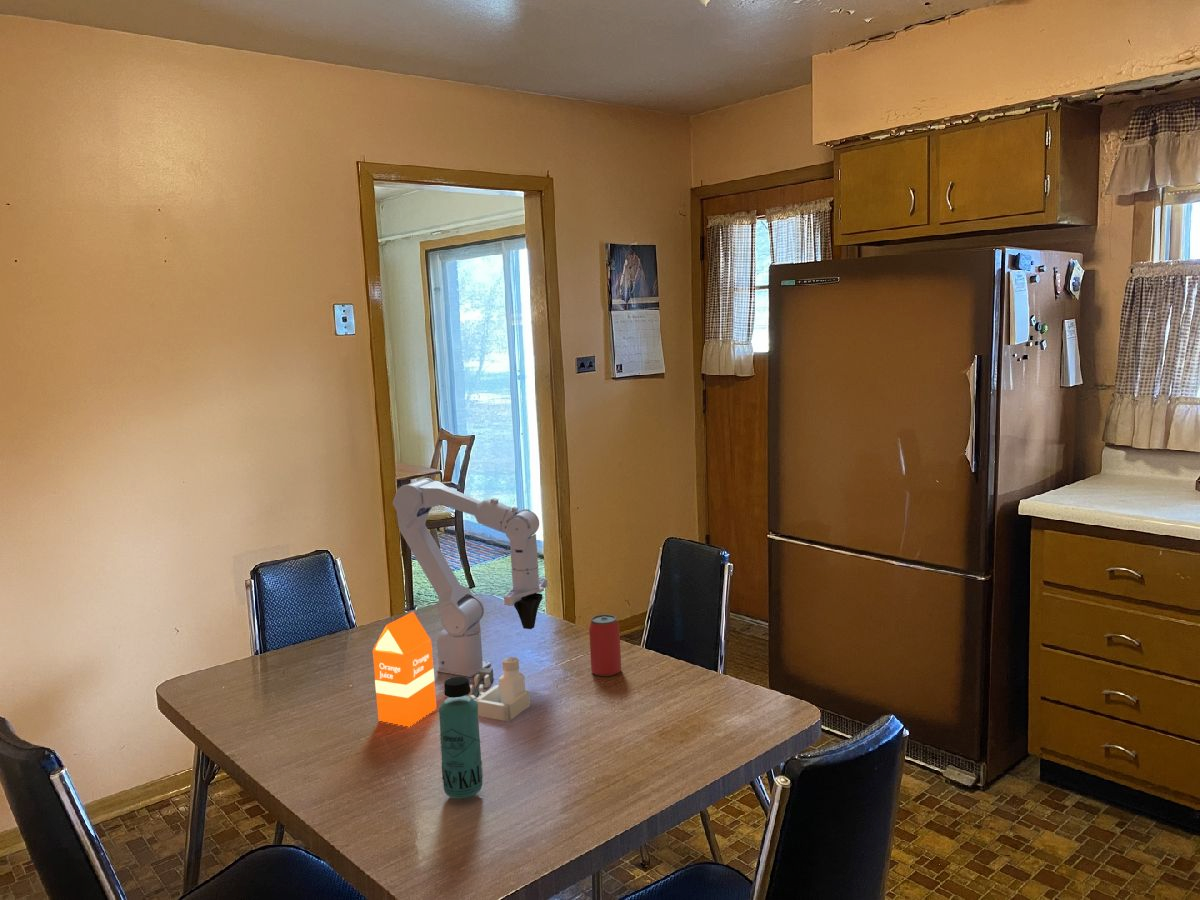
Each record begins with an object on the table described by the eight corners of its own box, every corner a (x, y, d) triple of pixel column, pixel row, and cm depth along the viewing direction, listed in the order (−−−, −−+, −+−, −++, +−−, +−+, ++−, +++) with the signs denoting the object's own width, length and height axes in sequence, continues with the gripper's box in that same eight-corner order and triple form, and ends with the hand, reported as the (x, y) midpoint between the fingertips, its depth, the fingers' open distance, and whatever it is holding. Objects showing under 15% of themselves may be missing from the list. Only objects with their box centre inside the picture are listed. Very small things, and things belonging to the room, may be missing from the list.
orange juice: (437, 708, 176) (429, 613, 173) (410, 727, 168) (402, 627, 165) (405, 703, 179) (397, 609, 176) (377, 721, 171) (369, 623, 168)
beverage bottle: (445, 788, 145) (436, 673, 142) (485, 785, 145) (478, 670, 142) (441, 809, 138) (432, 689, 135) (483, 806, 139) (475, 686, 136)
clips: (465, 709, 175) (464, 699, 174) (471, 684, 187) (470, 674, 187) (487, 708, 175) (486, 697, 175) (491, 682, 188) (490, 672, 187)
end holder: (474, 714, 172) (473, 700, 172) (497, 698, 179) (496, 685, 179) (508, 721, 168) (507, 706, 168) (530, 705, 175) (529, 690, 175)
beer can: (622, 665, 194) (620, 613, 192) (620, 677, 187) (617, 623, 186) (592, 665, 194) (590, 613, 193) (589, 677, 188) (587, 623, 186)
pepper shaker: (511, 699, 178) (508, 655, 177) (527, 703, 176) (524, 658, 175) (499, 707, 175) (496, 662, 174) (515, 711, 173) (512, 665, 172)
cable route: (469, 709, 174) (468, 698, 174) (479, 678, 190) (479, 668, 190) (484, 709, 174) (483, 697, 174) (493, 678, 190) (493, 667, 190)
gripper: (522, 577, 180) (526, 641, 182) (557, 560, 193) (561, 619, 195) (494, 575, 183) (498, 637, 185) (530, 557, 196) (534, 616, 198)
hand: (528, 627), depth 190 cm, fingers closed
